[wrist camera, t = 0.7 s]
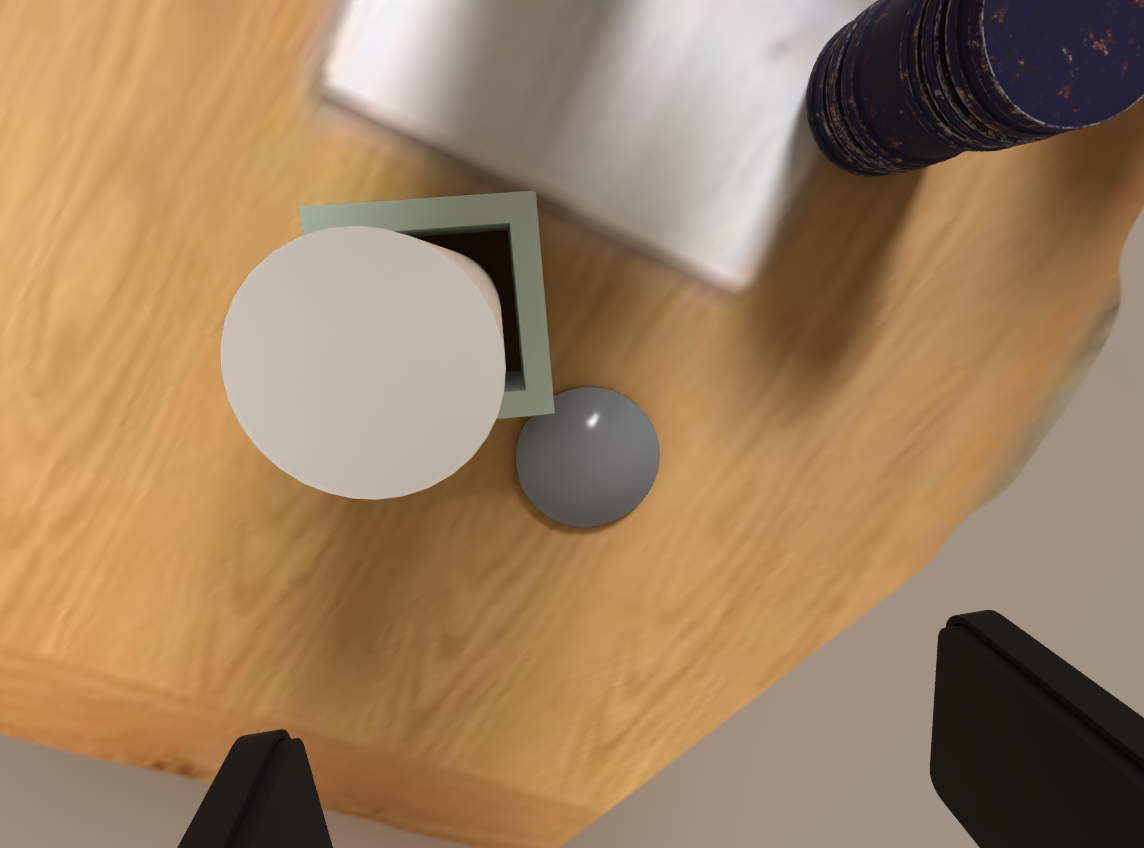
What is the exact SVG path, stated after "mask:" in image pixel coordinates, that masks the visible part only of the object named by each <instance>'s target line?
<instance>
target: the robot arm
mask: <svg viewBox="0 0 1144 848" xmlns="http://www.w3.org/2000/svg"><path fill="white" fill-rule="evenodd" d="M930 775H931V780H932V783H933V785H934V788H935V790H936V792H937V794H938V795H939V797H940V798H941V799H942V801H943V802H944V803H945V805H946V806H947V807H948V808H949V810H950V811H951V812H952V814H953V815H954V816H955V817H956V819H957V820H958V821H959V822H960V824H961V825H962V826H963V827H964V828H965V830H966V831H967V832H968V833H969V835H970V836H971V837H972V838H973V840H974V841H975V842H976V843H977V845H978V846H979V847H980V848H1144V718H1143V717H1142V716H1140V715H1139V714H1138V713H1136V712H1135V711H1134V710H1132V709H1131V708H1129V707H1128V706H1127V705H1125V704H1124V703H1122V702H1121V701H1120V700H1118V699H1117V698H1116V697H1114V696H1113V695H1111V694H1110V693H1109V692H1107V691H1106V690H1104V689H1103V688H1102V687H1100V686H1099V685H1098V684H1096V683H1095V682H1094V681H1092V680H1091V679H1089V678H1088V677H1087V676H1085V675H1084V674H1082V673H1081V672H1080V671H1078V670H1077V669H1076V668H1074V667H1073V666H1071V665H1070V664H1068V663H1067V662H1066V661H1065V660H1063V659H1062V658H1060V657H1059V656H1058V655H1056V654H1055V653H1054V652H1052V651H1051V650H1049V649H1048V648H1046V647H1045V646H1044V645H1042V644H1041V643H1040V642H1038V641H1037V640H1035V639H1034V638H1033V637H1031V636H1030V635H1029V634H1027V633H1026V632H1025V631H1023V630H1022V629H1020V628H1019V627H1018V626H1016V625H1015V624H1013V623H1012V622H1011V621H1009V620H1008V619H1006V618H1005V617H1004V616H1002V615H1001V614H999V613H997V612H995V611H992V610H984V611H978V612H973V613H966V614H960V615H955V616H952V617H950V618H949V619H948V621H947V623H946V628H943V629H941V631H940V632H939V635H938V646H937V663H936V680H935V696H934V711H933V727H932V743H931V759H930ZM178 848H333V847H332V843H331V840H330V836H329V832H328V829H327V825H326V822H325V818H324V815H323V811H322V808H321V804H320V800H319V797H318V793H317V790H316V786H315V783H314V779H313V775H312V772H311V768H310V765H309V761H308V758H307V754H306V751H305V747H304V744H303V742H302V740H301V739H300V738H295V739H291V738H290V736H289V733H288V732H287V731H286V730H282V729H281V730H275V731H269V732H263V733H257V734H251V735H245V736H241V737H240V738H238V739H237V740H236V741H235V743H234V744H233V746H232V748H231V749H230V751H229V753H228V755H227V757H226V759H225V760H224V762H223V764H222V766H221V768H220V770H219V772H218V773H217V775H216V777H215V779H214V781H213V783H212V785H211V786H210V788H209V790H208V792H207V794H206V796H205V798H204V800H203V801H202V803H201V805H200V807H199V809H198V811H197V812H196V814H195V816H194V818H193V820H192V822H191V823H190V825H189V827H188V829H187V831H186V833H185V835H184V836H183V838H182V840H181V842H180V844H179V846H178Z"/></svg>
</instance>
